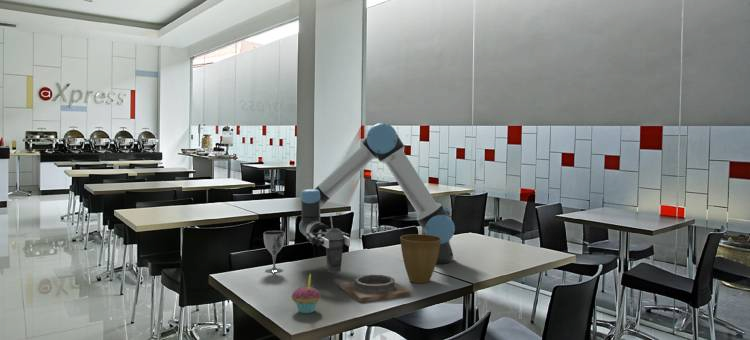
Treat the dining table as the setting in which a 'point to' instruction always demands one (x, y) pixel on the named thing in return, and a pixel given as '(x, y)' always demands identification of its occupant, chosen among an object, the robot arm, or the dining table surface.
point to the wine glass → (274, 246)
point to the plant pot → (420, 256)
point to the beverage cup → (334, 249)
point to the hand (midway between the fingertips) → (338, 243)
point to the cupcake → (306, 298)
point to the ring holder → (374, 288)
